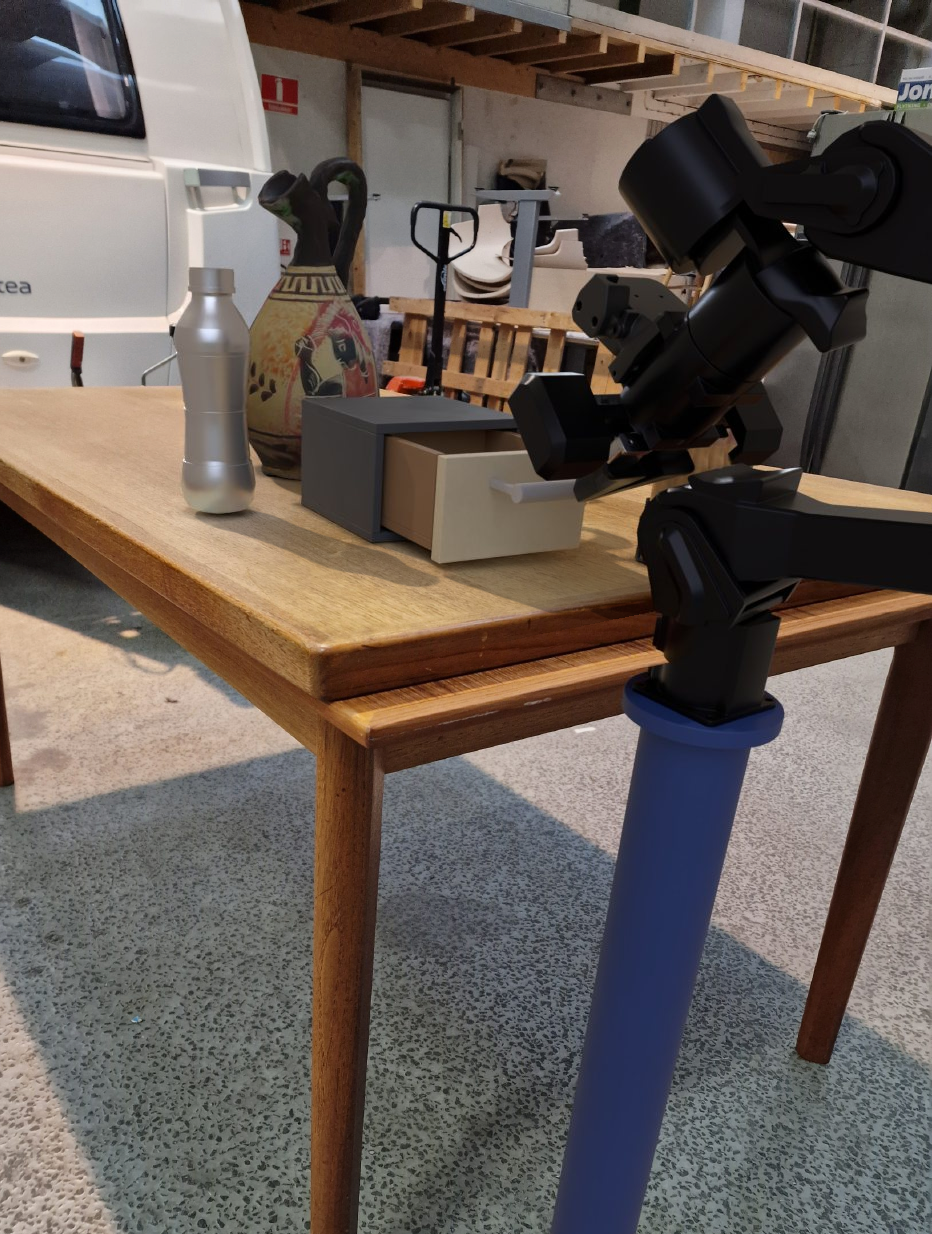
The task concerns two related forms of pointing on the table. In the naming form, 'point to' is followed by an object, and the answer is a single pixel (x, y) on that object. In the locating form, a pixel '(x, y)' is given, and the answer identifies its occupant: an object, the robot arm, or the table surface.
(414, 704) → the table surface
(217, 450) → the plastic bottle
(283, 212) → the ceramic jug
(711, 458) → the ammunition clip
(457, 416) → the cabinet
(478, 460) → the drawer
